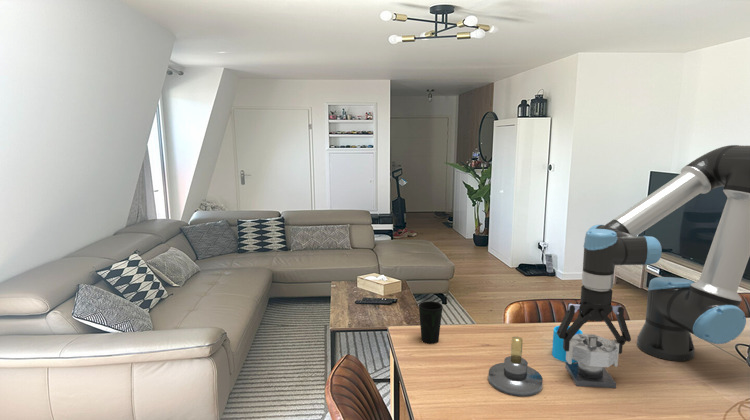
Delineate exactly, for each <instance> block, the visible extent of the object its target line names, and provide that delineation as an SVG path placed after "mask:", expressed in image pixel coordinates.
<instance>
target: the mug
mask: <svg viewBox="0 0 750 420" xmlns="http://www.w3.org/2000/svg"><path fill="white" fill-rule="evenodd" d="M559 326H560V325H556V326H554V327H553V335H552V348H551V350H552V351H551V355H552V357H553V358H554V359H556V360H558V361H560V362H563V363H566V362H567V360H566V351H565V350H564V349H563V340H564V339H561V338H559V336H558V335H557V331H558V329H559ZM570 326H571V325H569V327H570ZM569 327H568V328H569ZM567 330H568V329H567ZM576 334H584V332H583V330H581V329H579V330H578V331H577V333H576ZM576 334H575V335H576ZM572 363H578V361H575V360H573V359H572Z"/></svg>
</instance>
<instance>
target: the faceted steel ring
mask: <svg viewBox="0 0 750 420" xmlns="http://www.w3.org/2000/svg"><path fill="white" fill-rule="evenodd" d="M588 335H595V336H597V337H598V339H597V347H591V346H588V345H587V341H588ZM571 340H572V341H573V349H572V359H573V360H575V361H578V362H580V363H583V364H585V365H588V366H594V367H604V368H609V367H611V366H612V365H613V364H614V363H616V362H617V350H618V348H617V346H616V345H615V344H614V343H613V342H612V340H611V339H608V338H607V337H603V336H599V335H596V334H592V333H591V334H590V333H589V334H587V333H583V334H576V335H574V336H573V337H572V338H571ZM578 362H577V363H578ZM613 366H614V365H613Z"/></svg>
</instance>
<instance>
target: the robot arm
mask: <svg viewBox="0 0 750 420" xmlns="http://www.w3.org/2000/svg"><path fill="white" fill-rule="evenodd" d="M720 187H723V190H722V192H723V193H724V194H725V197H727V199H726V202H725V204H724V208H723V209H722V213H721V217H720V219H719V223H718V225H717V228H716V231H715V233H714V236H713V238H712V242H711V245H710V248H709V251H708V254H707V256H706V259H705V263H704V265H703V267H702V268H703V269H702V271H701V274H700V276H699V280H697V281H693V280H691V279H687V278H681V277H673V276H670V277H669V276H658V277H654V278H652V279H651V280H650V281H649V284H648V289H647V297H646V298H647V301H646V311H645V313H646V314H645V320H644V324H643V326H642V328H641V330H640V332H639V333H638V335H637V338H636V346H637V347H638V348H639V349H640V351H642V352H643V353H645V354H648V355H649V356H652V357H656V358H658V359H659V358H660V359H663V360H667V361H675V362H685V361H690V360H693V359H694V357H695V349H696V348H695V346H694V341H693V338H692V335H694V336H695V337H696V338H698V339H700V340H704V341H706V342H708V343H711V344H714V345H722V344H727V343H730V342H731V341H733V340H735V339H737V338H738V337H740V335H741V334H742V333H743V331H744V329H745V328H746V325H747V317H746V314H745V312H744V311H743V310H742V309H741V308H740V306H741V303H742V297H741V296H740V295H739V293H738V289H739V287H740V285H741V282H742V279H743V275H744V274H745V270H746V267H747V265H748V261H749V259H750V145H738V144H737V145H736V144H734V145H733V144H731V145H725V146H722V147H718V148H715V149H713V150H710V151H709V152H706V153H704V154H702V155H701V156H699V157H698V158H696V159H694V160H693V161H691V162H689V163H687V164H686V165H685V166H683V167H682V168H681V169H680V174H678V175H677V176H675V177H674V178H673V179H671V180H670V181H667V183H665V184H664V185H662V186H660V187H659V188H657V189H656V190H655V191H653V192H652V193H650V194H649V195H647V196H645V197H644V198H643V199H641V200H640V201H639V202H637V203H636V204H634V205H633V206H631V207H629V208H628V209H627V210H625V211H624V212H622V213H620V214H619V215H617V216H616V217H615V218H614V219H612V220H611V221H609V222H607V223H606V224H596V225H592V226H591V227H590V228H589V229H588V230H587V231H586V232H585V236H584V242H583V260H582V261H583V262H582V276H581V284H582V286H581V289H580V302H579V303H577V304H575V303H571V302H568V303H567V310H566V312H565V314H564V316H563V319H562V320H561V322H560V325H558V326H559V329H558V331H557V335H558V336H559V338H561V339H564V340H563V349H564V350H565V351H566V360H567V362H568V364H572V349H573V341H572V340H571V338H572V337H573V336H574V335H575V334H576V333H577V331H578V330H581V328H582V327H583V325H585V324H586V323H587V322H594V321H597V322H602V321H604V323H605V325H606V326H607V328H608V329H609V330H610V332H611V334H612V335H613V337H614V338H615V339H612V340H611V341H612V342H613V343H614V344H615V345H616V346H617V348H618V350H617V362H616V363H614V364H613V366H614V367H618V365H619V364H618V363H619V355H621V354H622V353H623V347H624V345H625V344H626V342H628V343H629V342H631V341H632V338H631V335H630V332H629V328H628V325H627V323H626V319H625V316H624V314H625V308H624V307H623V306H621V304H616V305H612V303H613V287H614V275H615V266H639V265H640V266H641V265H642V266H646V265H654V264H656V263H658V262H659V260H660V259H661V257H662V251H663V250H662V249H663V248H662V244H661V242H660V241H659V239H657V238H656V237H654V236H652V235H651V236H646V235H641V236H639V235H640V234H642V233H643V232H644V231H646V230H647V229H649V228H651V227H652V226H653V225H654V226H655V224H657V223H658V222H659V221H661V220H662V219H665V217H667V216H669V215H670V214H672V213H673V212H674V211H676V210H677V209H679V208H681V207H682V206H683V205H685V204H686V203H688V202H689V201H691V200H692V199H693V198H696V197H697V196H699V194H702V195H703V194H704V195H705V194H708V193H709V192H711V191H712V190H714V189H717V188H720ZM578 310H580V312H579V314H578V315H577V318H576V319H574V317H575V313H578V312H577V311H578ZM612 312H613V314H615V317H616V321H617V323H618V325H619V329H620V332H621V334H620V333H619V331H618V329H617V328H616V327H615V325H614V324H613V322H612V320H611V319H610V317H609V315H610V314H611V313H612ZM573 319H574V321H573ZM572 321H573V322H572ZM571 323H572V324H571ZM569 326H570V327H569ZM568 327H569V328H568ZM567 329H568V330H567ZM691 334H692V335H691Z"/></svg>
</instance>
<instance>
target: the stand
mask: <svg viewBox="0 0 750 420" xmlns="http://www.w3.org/2000/svg"><path fill="white" fill-rule="evenodd" d="M595 335H596V334H593V335H588V341H587V345H588V346H591V347H597V339H598V337H597V336H598V335H597V336H595ZM565 369H566V371H567V373H568V374H569V376H570V377H571V379H572V380H573V383H574V384H575V386H577V387H586V388H587V387H589V388H604V389H605V388H606V389H617V382H616V381H615V380H614V378H613V377H612V376H611V374H610V373H609V371H608V370H607V369H606V367H594V366H588V365H585V364H583V363H580V362H575V363H572V364H568V362H565Z"/></svg>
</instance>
